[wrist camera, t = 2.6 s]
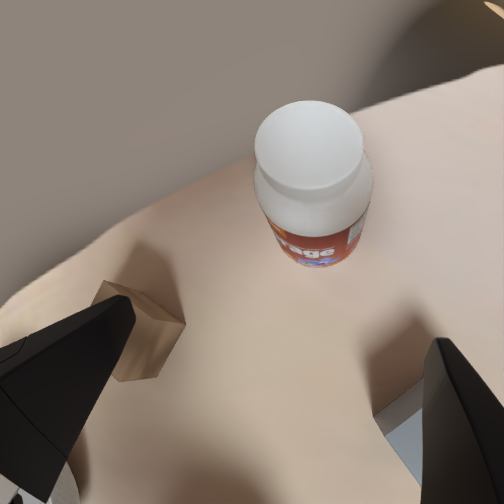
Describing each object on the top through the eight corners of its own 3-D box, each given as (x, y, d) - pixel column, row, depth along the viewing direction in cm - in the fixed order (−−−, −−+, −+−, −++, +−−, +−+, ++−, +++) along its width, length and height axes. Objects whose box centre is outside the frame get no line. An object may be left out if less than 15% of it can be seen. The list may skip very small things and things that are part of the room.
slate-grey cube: (406, 463, 16) (423, 490, 12) (372, 416, 18) (384, 436, 14) (460, 419, 16) (490, 435, 12) (429, 371, 18) (455, 377, 13)
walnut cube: (156, 377, 23) (119, 382, 18) (114, 341, 24) (75, 338, 20) (186, 324, 23) (152, 319, 19) (141, 292, 25) (103, 279, 20)
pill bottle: (261, 245, 23) (207, 169, 13) (302, 179, 24) (278, 75, 14) (336, 286, 21) (342, 233, 11) (374, 213, 22) (400, 116, 12)
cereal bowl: (93, 554, 18) (54, 575, 12) (5, 469, 23) (-34, 475, 17) (117, 459, 21) (63, 480, 15) (16, 369, 26) (-32, 366, 20)
